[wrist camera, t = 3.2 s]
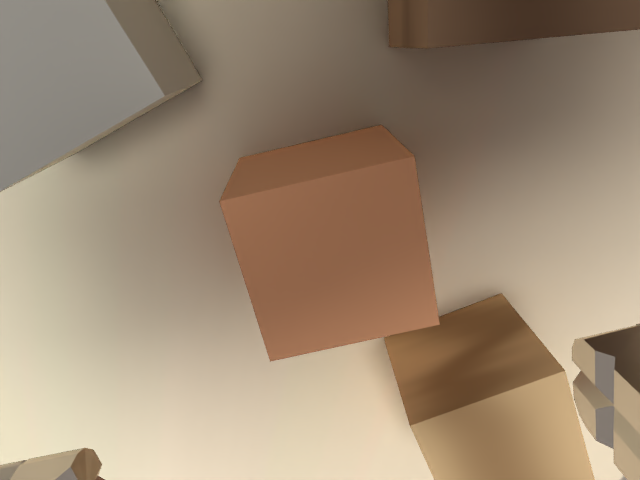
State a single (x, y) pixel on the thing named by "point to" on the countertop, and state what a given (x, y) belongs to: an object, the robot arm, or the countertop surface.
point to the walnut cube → (503, 20)
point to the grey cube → (80, 76)
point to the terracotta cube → (332, 241)
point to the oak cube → (488, 398)
